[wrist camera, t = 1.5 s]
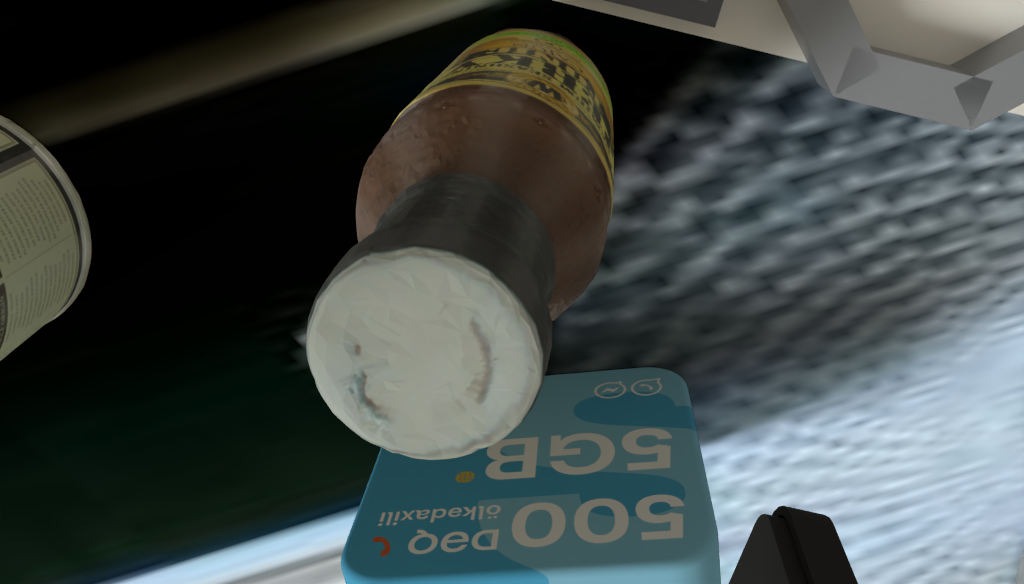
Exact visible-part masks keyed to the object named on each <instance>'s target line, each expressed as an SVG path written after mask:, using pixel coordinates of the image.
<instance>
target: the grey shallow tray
mask: <svg viewBox="0 0 1024 584" xmlns="http://www.w3.org/2000/svg"><path fill="white" fill-rule="evenodd" d="M554 1H558V2H562V3H566V4H570V5H574V6H578V7H582V8H586V9H590V10H594V11H598V12H603V13H607V14H611V15H615V16H619V17H623V18H627V19H631V20H635V21H639V22H643V23H647V24H652V25H656V26H660V27H664V28H668V29H672V30H676V31H680V32H684V33H688V34H692V35H696V36H700V37H705V38H709V39H713V40H717V41H721V42H725V43H729V44H733V45H737V46H741V47H745V48H749V49H754V50H758V51H762V52H766V53H770V54H774V55H778V56H782V57H786V58H790V59H794V60H798V61H802V62H807V63H808V65H809V67H810V69H811V71H812V73H813V75H814V77H815V79H816V81H817V83H818V84H819V85H820V86H821V87H823V88H824V89H825V90H826V91H828V92H829V93H830V94H831V95H832V96H834V97H838V98H842V99H846V100H850V101H854V102H858V103H862V104H866V105H870V106H875V107H879V108H883V109H887V110H891V111H895V112H899V113H903V114H907V115H911V116H915V117H920V118H924V119H928V120H932V121H936V122H940V123H944V124H948V125H952V126H956V127H960V128H965V129H969V130H971V129H972V130H973V129H975V128H977V127H979V126H981V125H983V124H985V123H986V122H988V121H990V120H992V119H994V118H996V117H998V116H1000V115H1002V114H1004V113H1006V112H1011V113H1015V114H1019V115H1023V116H1024V0H724V1H723V4H722V7H721V10H720V13H719V17H718V20H717V23H716V26H715V28H714V27H710V26H706V25H702V24H698V23H694V22H690V21H686V20H682V19H677V18H673V17H669V16H665V15H661V14H657V13H653V12H649V11H645V10H641V9H637V8H633V7H629V6H624V5H620V4H616V3H612V2H608V1H604V0H554Z"/></svg>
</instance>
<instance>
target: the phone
mask: <svg viewBox="0 0 1024 584" xmlns="http://www.w3.org/2000/svg"><path fill="white" fill-rule="evenodd" d="M604 1H608V2H612V3H616V4H620V5H624V6H629V7H633V8H637V9H641V10H645V11H649V12H653V13H657V14H661V15H665V16H669V17H673V18H677V19H682V20H686V21H690V22H694V23H698V24H702V25H706V26H710V27H714V28H715V26H716V23H717V20H718V17H719V13H720V10H721V7H722V4H723V1H724V0H604Z"/></svg>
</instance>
